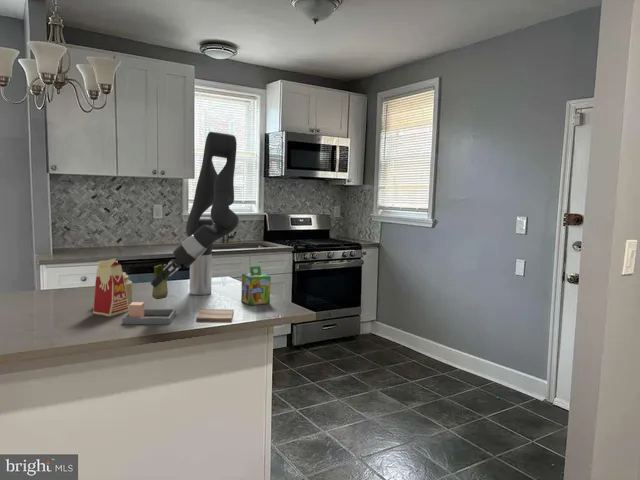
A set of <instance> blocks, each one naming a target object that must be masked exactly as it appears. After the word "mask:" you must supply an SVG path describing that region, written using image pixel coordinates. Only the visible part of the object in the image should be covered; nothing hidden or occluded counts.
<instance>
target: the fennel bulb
mask: <svg viewBox="0 0 640 480" xmlns="http://www.w3.org/2000/svg"><path fill="white" fill-rule="evenodd" d="M166 266H167V264H166V263H165V264H163V265H162V264H158V265H155V266H153V271H154V273H153V274H154V278H153V280H154V279H156V278H157V277H158V275H159V274H161V273H162V272H163V269H164V268H165V267H166ZM163 275H164V276H165V277H166V274H165V273H163ZM168 289H169V288H168V282H167V278H166V279H165V280H164V281H162V282H161V283H160V284H159V285H158V286H157V287H153V286H152V291H151V292H152V296H151V297H152V298H153V299H155V300H161V299H166V298H167V297H168V294H169V293H168V292H169V290H168Z"/></svg>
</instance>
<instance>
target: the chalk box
mask: <svg viewBox="0 0 640 480" xmlns="http://www.w3.org/2000/svg"><path fill="white" fill-rule="evenodd" d="M249 268H250V270H249V271H250V273H249V272H248V273H242V274H241V297H240V298H241V302H243V303H244V304H247V305H249V306H257V305H259V306H260V305H270V302H271V278H272V277H271V276H270V275H268V274H266V273H262V271H261V270H262V268H261V266H260V265H257V266H250V267H249ZM255 270H257V272H255Z"/></svg>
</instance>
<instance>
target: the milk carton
mask: <svg viewBox="0 0 640 480" xmlns="http://www.w3.org/2000/svg"><path fill="white" fill-rule="evenodd" d="M116 260H117V258H116V257H114V258H111V259H108V260H98V261H97V262H98V263H99V264H98V267H97V268H96V273H95V274H96V276H95V282H94V283H95V284H94V296H93V311H92V312H93V314H94V315H100V316H105V317H113V316H116V315H120V314H124V313H126V312H127V313H128V312H129V305H128V298H127V293H126V287H125V282H124V277H123V272H124V271H123V268H122V264H120V263H119V262H117V261H116Z"/></svg>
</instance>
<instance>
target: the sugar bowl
mask: <svg viewBox="0 0 640 480" xmlns="http://www.w3.org/2000/svg"><path fill="white" fill-rule="evenodd" d="M122 272H123V277H124V282H125V287H126V293H127V298H128V305H130V304H131V303H132V302H133V281H132V280H130V279H128V278H129V275H128V274H127V272H124V271H122Z"/></svg>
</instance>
